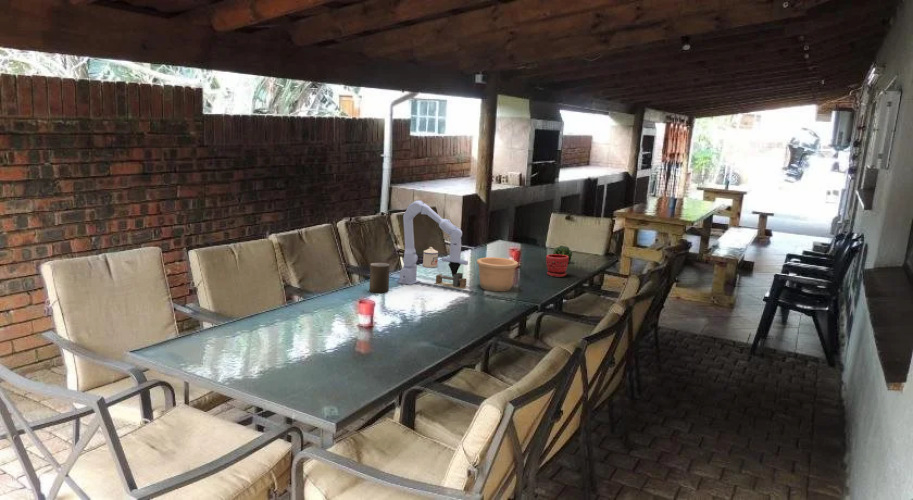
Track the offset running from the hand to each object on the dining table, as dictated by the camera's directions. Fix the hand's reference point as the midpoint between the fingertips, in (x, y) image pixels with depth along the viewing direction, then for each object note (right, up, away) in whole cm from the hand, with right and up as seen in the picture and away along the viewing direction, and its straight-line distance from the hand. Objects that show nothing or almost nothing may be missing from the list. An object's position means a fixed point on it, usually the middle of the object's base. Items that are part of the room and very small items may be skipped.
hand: (454, 276), depth 349 cm
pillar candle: (-38, -7, -18) cm, 42 cm away
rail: (-2, -5, +2) cm, 5 cm away
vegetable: (+70, +5, +79) cm, 106 cm away
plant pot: (+60, -1, +41) cm, 73 cm away
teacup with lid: (-14, +4, +49) cm, 51 cm away
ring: (+2, -5, 0) cm, 6 cm away
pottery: (+22, -6, +3) cm, 23 cm away
